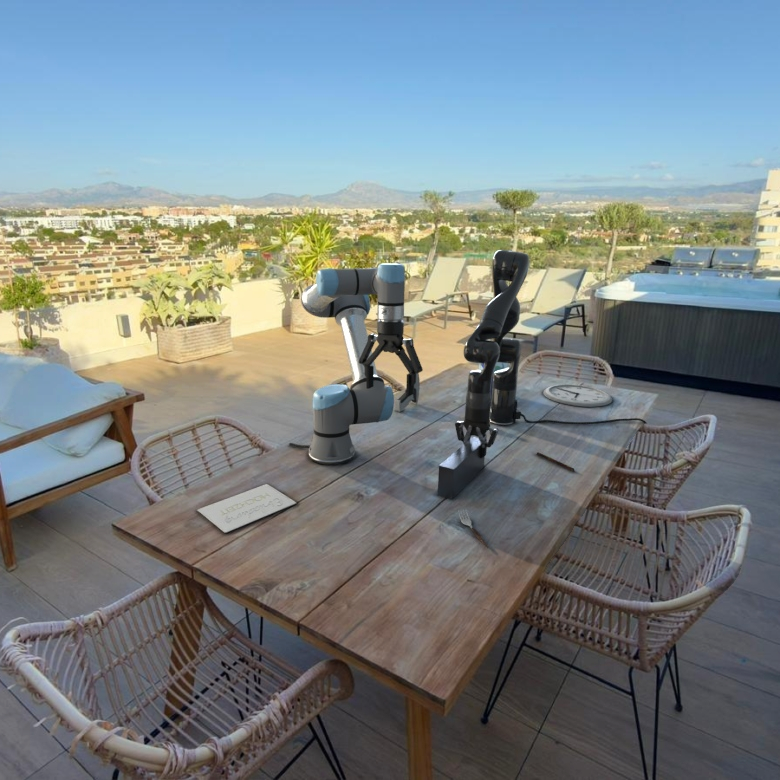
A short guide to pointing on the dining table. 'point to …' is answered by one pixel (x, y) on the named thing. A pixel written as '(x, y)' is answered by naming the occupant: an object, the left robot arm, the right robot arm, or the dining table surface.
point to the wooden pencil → (555, 461)
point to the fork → (468, 522)
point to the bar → (460, 468)
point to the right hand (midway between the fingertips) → (474, 455)
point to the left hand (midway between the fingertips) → (389, 391)
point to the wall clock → (577, 395)
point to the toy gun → (405, 400)
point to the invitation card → (246, 507)
